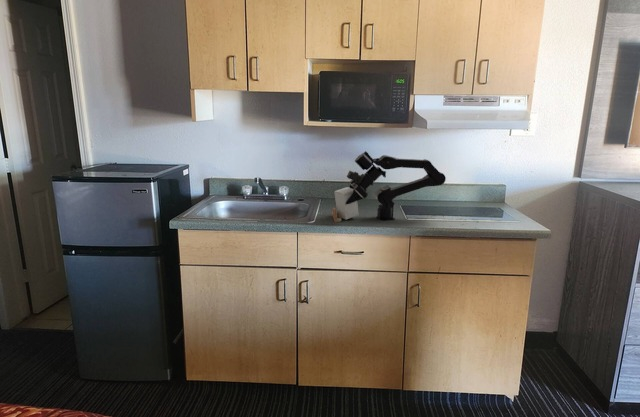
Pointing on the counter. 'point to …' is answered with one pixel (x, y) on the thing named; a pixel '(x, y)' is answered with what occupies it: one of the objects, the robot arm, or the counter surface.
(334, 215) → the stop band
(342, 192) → the supplement box
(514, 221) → the counter surface
